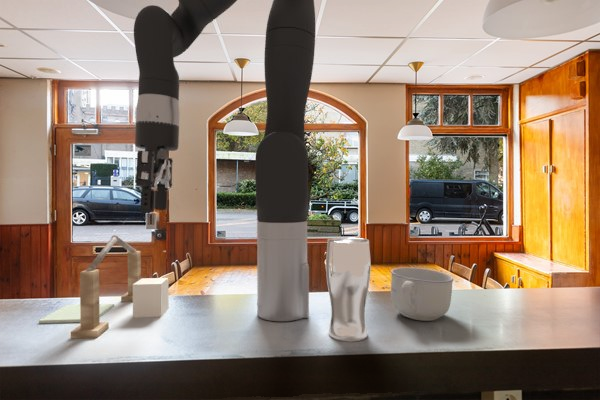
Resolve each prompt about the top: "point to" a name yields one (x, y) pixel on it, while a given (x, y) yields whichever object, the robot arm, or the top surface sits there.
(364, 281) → the beer glass
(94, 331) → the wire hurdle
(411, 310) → the teacup
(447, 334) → the top surface
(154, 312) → the cream block
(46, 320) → the mat
